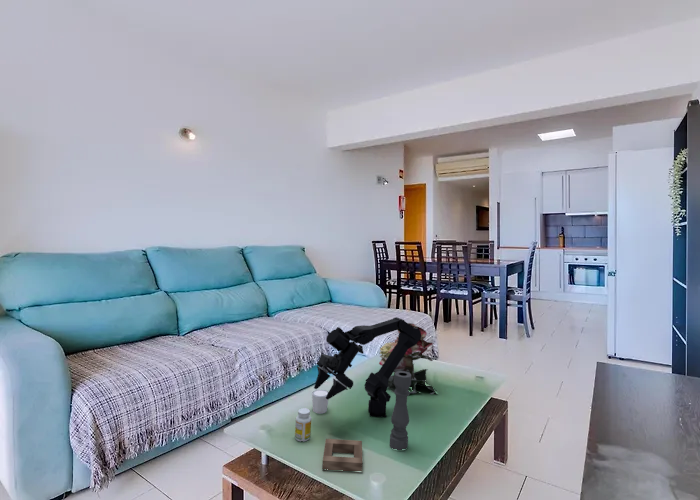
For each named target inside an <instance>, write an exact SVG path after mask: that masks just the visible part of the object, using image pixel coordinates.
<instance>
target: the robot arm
mask: <svg viewBox="0 0 700 500" xmlns="http://www.w3.org/2000/svg"><path fill="white" fill-rule="evenodd" d="M408 323H409V322H406V321H405V320H404V319H402V318H399V317H393V318H391V319H388V320H385V321H381V322H379V323H378V322H377V323H375V324H373V325H372V324H370V325H355V326H354V327H352V328H351V329H350V330H347V331H343V329H342V328H340V327H339V326H338V327H336V328H335V329H333V330H331V331H330V332H328V334H327V336H326V343H327V344H328V345H330V346H332V348H334V349H335V350H336V351H338V353H334V354H333V356H332V355H329V354H325V353H320V357H319V359H318V361H317V362H316V365H317V366H316V368H317V372H318V373H317V377H316V381H315V384H314V386H313V389H314V390H318V389H319V388H320V387H321V386H322V385H323V384H324V383H326V381H327V380H328V379H329V378H330V377H331V375H332V376H333V377H335V378H332V380H333V381H332V383H333V384H332V386H331V387H330V389H329V391H328V394H327V396H326V399H328V400H330V399H332V398H333V397H335V396H336V395H338V394H340V393H342V392H344V391H348V390H351V389H352V388H353V387H354V381H353V380H352V379H351V378H349V376H347V375H346V371H347V370H348V368H352V366H353V365H352V362H353V361H354V359H355V357H356V356H357V354H359V353H360V354H361V355H362V354H363V355H364V349H363V347H364V346H365V345H367V344H370V342H373V340H374V339H375V338H377V337H380V336H382V335H386V334H389V333H393V332H395V331H397V332H398V331H399V332H400V333H398V336H397V337H398V343H397V344H396V346H395V347H394V349H393V350H392V352H391V353H390V355H389V356H388V358H387V359H386V361H385V362H384V364H383V365H381V367H380V368H379V370H378V371H377V372H376V373H374V372H370V374H369V375H368V377H367V378H366V379H365V382H364V390H365V392H366V394H367V395H368V396H369V397H370V399H369V400H368V407H367V408H368V409H367V412H368V413H369V417H371V418H387V403H389V402H390V400H391V394H389V393H388V391H387V390H388V389H389V388H388V381H389V378H390V376H392V375H393V374H394V373H395V372H394V370H395V369H396V367H397V366H398V364H399V362H400V361H401V359H402V358H403V356H404V355H405V353H406V352H407V350H408V349H409V348H411V347H413V346H415V345H416V344H417V342H418V341H419V340H420V338H421V331H420V330H419V329H417V328H415V327H412V326H411V325H409V324H408Z"/></svg>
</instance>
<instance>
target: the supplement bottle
mask: <svg viewBox="0 0 700 500" xmlns="http://www.w3.org/2000/svg"><path fill="white" fill-rule="evenodd" d="M310 414H311V411H310V409H309V408H306V407H302V408H299V409H298V410H297V415H296V417H295V428H294V430H295V431H294V438H295V440H296V441H298V442H301V441H303V442H306V441H307V442H308V440H310V438H311V434H312V433H311V432H312V430H311V429H312V416H311V415H310Z"/></svg>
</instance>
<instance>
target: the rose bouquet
mask: <svg viewBox="0 0 700 500" xmlns="http://www.w3.org/2000/svg"><path fill="white" fill-rule="evenodd" d="M407 323H408V324H409V325H411V326H412V327H415V328H417V329H419V330H420V331H421V338H420V340H419V341H418V342H417V344H416V345H415V346H413V347H411V348H409V349H408V350H407V352H406V353H405V355H404V356H403V358H402V359H401V361H400V362H399V364H398V366H397V367H396V369H395V370H394V372H393V374H392V375H391V376H390V378H389V381H388V388H387V389H389V390H390V391H391V393H394V390H395V389H396V387H395V384H394V375H395V372H397V371H405V372H408V373H410V374H411V385H410V387H412V390H413V391H412V392H409V393H410V394H420V393H419V392H420V391H418V390H416V385H417V386H420V385H421V387H426V388H427V390H431V391H432V392H430V393H429V395H435V394H434V393H435V391H436V390H435V388H434V389H433V387H434V386H433V387H432V385H431V386H426V385H425V382H426V383H427V371H429V369H428V368H425V369H424V368H422V369H420V370H418V371H415V368H414V365H415V363H414V361H416V360H419V359H420V360H421V359H425V360H428V361H430V362H433V361H434V359H432V358H431V357H430V356H429V355H425V354H424V353H425V352H431V349H430V350H429V349H428V348H429V347H431V346H433V345H434V342H429V341H426V337H427V335H428V332H427V331H426V330H425V329H423V328H422V327H420V326H419V325H416V323H413V322H407ZM397 332H398V334H399V333H400V332H399V331H398V330H397ZM397 343H398V336H397V337H396V339H395V340H394V341H393V342H390V341H389V342H385V343H384V345H382V346H381V347H379V348H380V349H379V350H380V351H379V354H380V355H379V357H380V358H381V359H380V361H379V363H378V365H380V366H382V365H383V364H384V362H385V361H386V359H387V358H388V356H389V355H390V353H391V352H392V350H393V349H394V347H395V346H396V344H397ZM425 380H426V381H425ZM434 390H435V391H434Z"/></svg>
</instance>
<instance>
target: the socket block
mask: <svg viewBox="0 0 700 500" xmlns="http://www.w3.org/2000/svg"><path fill="white" fill-rule="evenodd" d="M333 453H338V454H339V453H340V454H353V457H351V456H335V455H333ZM322 469H326V470H325V471H327V469H328V470H343V471H362V472H363V441H362V440H353V439H341V438H340V439H337V438H334V439H333V438H325V442H324V449H323V457H322V468H321V470H322ZM343 471H342V472H343Z"/></svg>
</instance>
